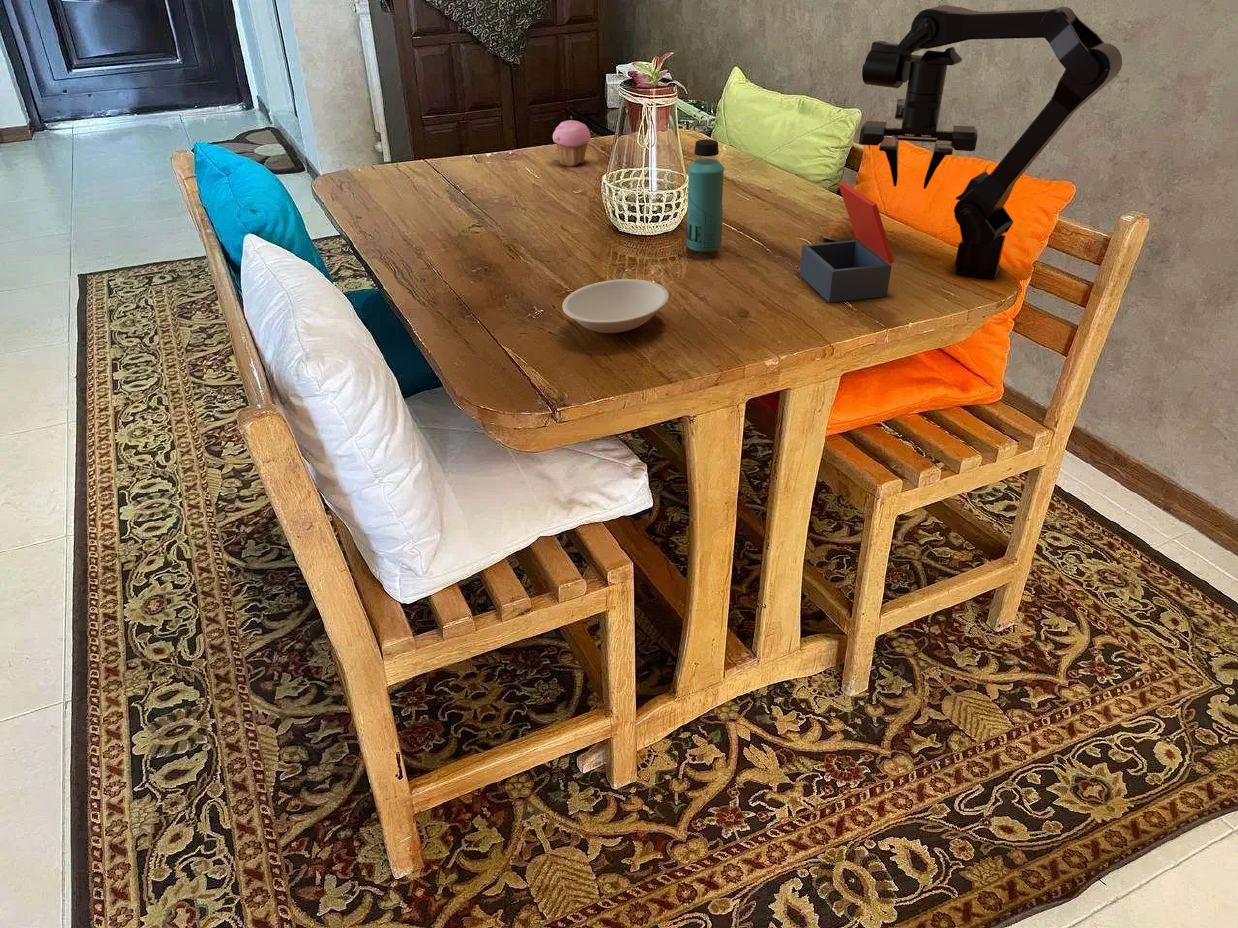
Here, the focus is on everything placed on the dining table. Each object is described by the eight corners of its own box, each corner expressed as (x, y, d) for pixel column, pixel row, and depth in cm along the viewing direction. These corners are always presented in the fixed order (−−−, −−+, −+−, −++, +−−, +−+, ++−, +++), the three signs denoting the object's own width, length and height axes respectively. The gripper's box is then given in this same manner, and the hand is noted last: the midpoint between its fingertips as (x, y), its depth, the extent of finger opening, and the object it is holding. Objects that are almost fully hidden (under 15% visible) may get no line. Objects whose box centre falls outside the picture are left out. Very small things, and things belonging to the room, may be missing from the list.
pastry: (841, 247, 169) (843, 227, 167) (813, 238, 173) (815, 218, 171) (874, 236, 173) (876, 216, 171) (845, 227, 178) (848, 208, 176)
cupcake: (570, 157, 224) (568, 114, 219) (598, 162, 220) (597, 119, 215) (547, 166, 218) (544, 122, 213) (576, 171, 214) (574, 126, 209)
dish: (620, 300, 149) (619, 271, 147) (689, 324, 141) (690, 293, 139) (542, 336, 138) (540, 305, 136) (612, 363, 130) (612, 331, 128)
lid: (871, 206, 140) (876, 203, 140) (837, 183, 150) (842, 180, 150) (889, 264, 146) (894, 261, 146) (855, 238, 156) (860, 236, 156)
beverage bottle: (726, 250, 168) (731, 137, 157) (713, 262, 163) (718, 147, 152) (693, 245, 171) (696, 134, 160) (679, 257, 166) (682, 143, 155)
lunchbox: (828, 303, 147) (832, 271, 144) (799, 274, 158) (802, 245, 155) (887, 296, 149) (891, 265, 146) (853, 269, 159) (857, 239, 157)
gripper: (984, 84, 154) (966, 178, 163) (870, 80, 159) (859, 171, 168) (985, 98, 146) (966, 196, 154) (864, 92, 150) (853, 188, 159)
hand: (909, 187), depth 159 cm, fingers open, 5 cm apart
